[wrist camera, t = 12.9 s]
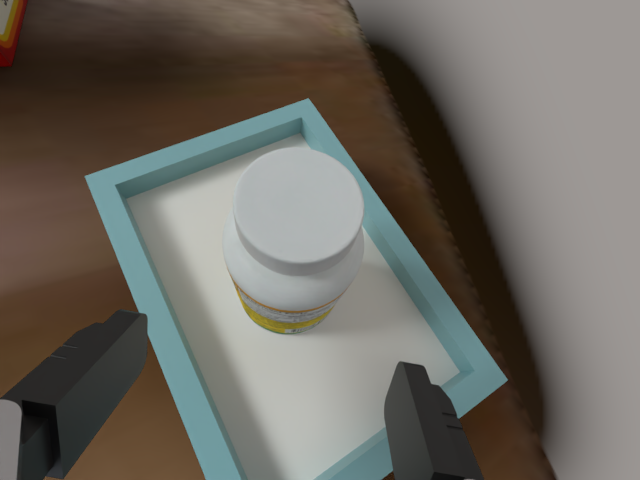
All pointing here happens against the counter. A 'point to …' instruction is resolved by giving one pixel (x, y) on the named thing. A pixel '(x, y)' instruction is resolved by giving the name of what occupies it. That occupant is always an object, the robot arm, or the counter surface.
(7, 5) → the baking soda box
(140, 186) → the shallow teal tray
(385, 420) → the robot arm
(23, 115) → the counter surface
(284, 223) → the supplement bottle
